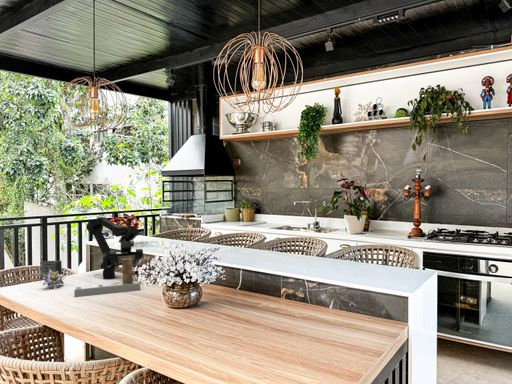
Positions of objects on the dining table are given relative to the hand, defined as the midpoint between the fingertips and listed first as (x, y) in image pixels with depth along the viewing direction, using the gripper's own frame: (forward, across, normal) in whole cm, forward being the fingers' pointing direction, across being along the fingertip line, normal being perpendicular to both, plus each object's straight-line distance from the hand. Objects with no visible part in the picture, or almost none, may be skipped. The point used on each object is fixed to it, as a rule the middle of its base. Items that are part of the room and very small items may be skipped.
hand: (126, 266), depth 222 cm
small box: (-21, -44, +36) cm, 61 cm away
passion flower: (-1, -39, +17) cm, 43 cm away
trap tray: (+13, -10, +2) cm, 16 cm away
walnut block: (+12, 0, 0) cm, 12 cm away
